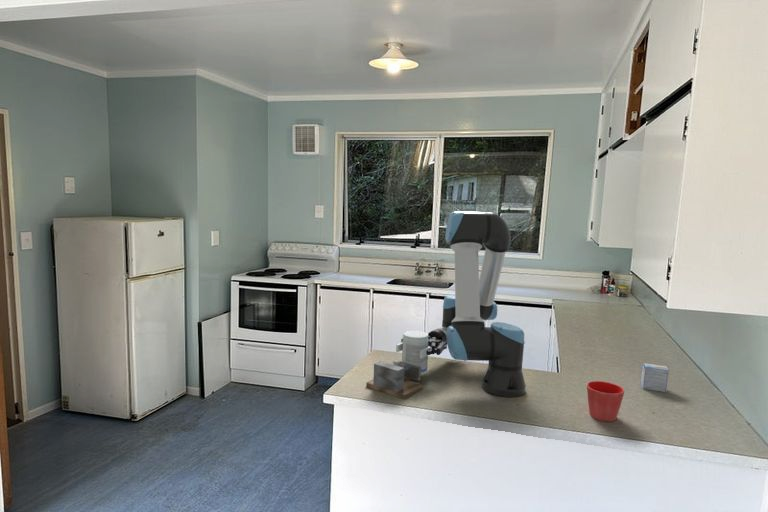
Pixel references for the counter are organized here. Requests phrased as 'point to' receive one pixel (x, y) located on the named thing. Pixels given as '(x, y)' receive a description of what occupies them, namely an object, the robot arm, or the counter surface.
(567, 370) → the counter surface
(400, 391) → the gauge bench
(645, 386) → the medicine box
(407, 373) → the gauge plunger
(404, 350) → the supplement tub
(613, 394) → the flower pot
